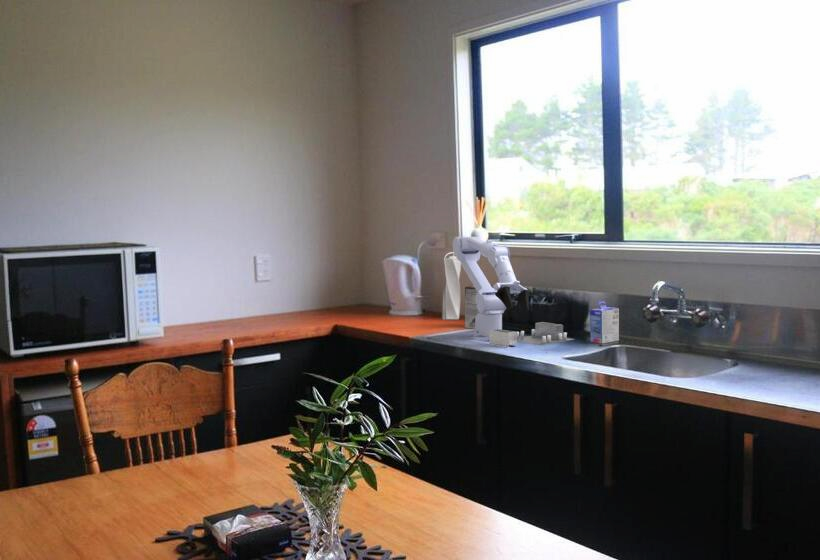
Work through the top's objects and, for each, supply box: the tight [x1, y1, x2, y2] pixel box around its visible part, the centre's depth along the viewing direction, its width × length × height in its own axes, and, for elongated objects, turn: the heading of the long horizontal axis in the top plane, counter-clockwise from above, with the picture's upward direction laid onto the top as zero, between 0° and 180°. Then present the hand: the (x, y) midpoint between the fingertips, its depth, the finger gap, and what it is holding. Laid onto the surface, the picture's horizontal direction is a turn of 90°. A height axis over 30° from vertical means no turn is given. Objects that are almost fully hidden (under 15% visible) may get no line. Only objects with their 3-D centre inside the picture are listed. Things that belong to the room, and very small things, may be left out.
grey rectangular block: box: [488, 329, 518, 348], centre depth 269 cm, size 9×4×5 cm, turn 40°
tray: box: [516, 328, 576, 346], centre depth 275 cm, size 15×18×4 cm
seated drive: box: [534, 321, 564, 340], centre depth 277 cm, size 9×4×5 cm, turn 40°
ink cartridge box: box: [589, 300, 620, 347], centre depth 271 cm, size 10×6×14 cm, turn 130°
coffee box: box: [464, 284, 480, 330], centre depth 309 cm, size 9×6×16 cm
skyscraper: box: [441, 251, 462, 321], centre depth 332 cm, size 8×8×28 cm
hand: (518, 309), depth 266 cm, fingers open, 7 cm apart
